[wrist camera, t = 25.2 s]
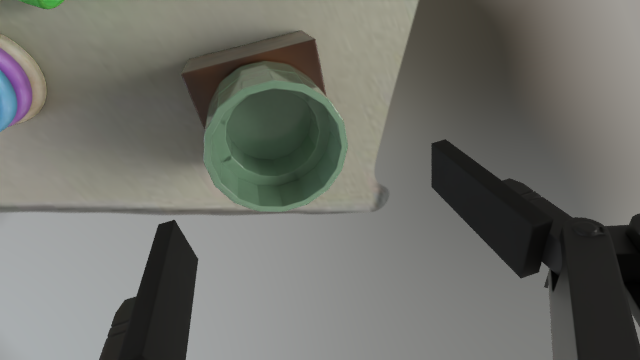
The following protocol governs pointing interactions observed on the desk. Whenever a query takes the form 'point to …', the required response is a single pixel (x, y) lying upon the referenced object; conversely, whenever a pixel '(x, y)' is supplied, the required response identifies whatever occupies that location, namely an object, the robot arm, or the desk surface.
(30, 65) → the stacking toy
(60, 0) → the speaker
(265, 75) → the sage bowl
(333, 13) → the desk surface
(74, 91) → the desk surface
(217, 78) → the walnut stand
